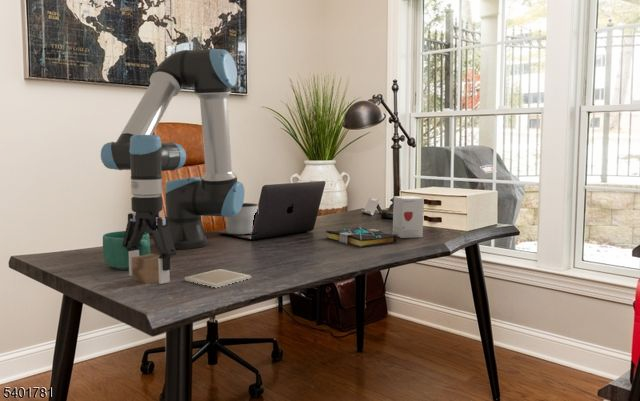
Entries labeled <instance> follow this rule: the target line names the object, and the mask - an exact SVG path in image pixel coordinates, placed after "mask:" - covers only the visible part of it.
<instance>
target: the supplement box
mask: <svg viewBox="0 0 640 401" xmlns="http://www.w3.org/2000/svg"><path fill="white" fill-rule="evenodd" d="M424 202H425V200H424V198H423V197H419V196H416V195H415V196H414V195H411V196H410V195H405V196H403V195H401V196H398V195H397V196H396V195H395V196H393V210H392V212H393V213H392V234H398V238H400V239H410V238H411V239H412V238H423V236H424V235H423V230H424V204H425V203H424Z"/></svg>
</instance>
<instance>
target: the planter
mask: <svg viewBox="0 0 640 401" xmlns="http://www.w3.org/2000/svg"><path fill="white" fill-rule="evenodd" d="M257 209H258V210H259V204H258V203H251V202H243V205H242V208H241V210H240V211H239V213H238V214H237V215H235V216H226V217H225V218H226V220H225V223H226V224H225V227H226V230H225V231H226V233H227V234H228V235H231V234H246V233H251V232H252V226H253V220H254V215H255V213H256V212H257Z"/></svg>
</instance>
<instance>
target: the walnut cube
mask: <svg viewBox="0 0 640 401" xmlns="http://www.w3.org/2000/svg"><path fill="white" fill-rule="evenodd" d="M159 256H160V254H154V253H150V254H147V255H142V256H137V257H132V276H131V278H132V281H134V280H135V282H138V281H139V283H142V282H143V283H142V284H145V283H148V284H151V282H152V283H155V282H159V265H158V257H159Z"/></svg>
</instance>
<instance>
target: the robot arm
mask: <svg viewBox="0 0 640 401" xmlns="http://www.w3.org/2000/svg"><path fill="white" fill-rule="evenodd" d="M237 82H238V69H237V66H236V62H235V60H234V58H233V56H232V54H231V53H230V52H229V51H228V50H226V49H221V48H208V49H205V48H204V49H203V48H202V49H182V50H179V51H176V52H174V53H172V54H171V55H169V56H167V57H166V58H165V59H164V60H162V62H160V63H159V64H158V65H157V66H156V68H155V69H154V71H153V72H152V73H151V75H150V78H149V86H148V87H147V89H146V91H145V92H144V95H142V97H141V99H140V101H139V103H138V104H137V106H136V108H135V110H134V111H133V113H132V115H131V116H130V118H129V120H128V122H127V123H126V125H125V126H124V128H123V130H122V132H121V134H120V135H119V136H118V138H117V139H116V141H111V142H107V143H104V144H103V145H102V148H101V150H100V160H101V163H102V164H103V166H104V167H105V168H107V169H110V170H116V171H117V170H118V171H123V170H124V171H129V170H130V182H131V183H130V189H131V190H130V191H131V195H132V197H131V199H130V200H131V204H130V205H131V211H132V212H133V213H132V212H131V213H127V222H126V223H127V224H126V228H125V230H124V231H125V236H124V240H123V244H122V245H123V247H126V249H127V251H128V260H129V269H128V276H129V277H132V257H137V256H139V250H135V249H139V247H138V245H139V243H140V241H141V239H142V237H143V235H144V233H145V232H146V233H148V234H149V237H151V238H152V240H153V243H154V245H155V247H156V249H157V251H158V255H160V256H159V257H158V265H159V281H158V284H159V285H163V284H166V283H170V281H171V277H170V276H171V273H170V270H171V257H173V256H176V254H177V251H176V250H187V249H196V248H202V247H204V246H207V244H208V243H207V242H208V240H207V239H208V238H207V235H206V233H205V228H204V226H203V224H202V216H203V217H205V216H206V217H209V216H210V217H222V218H226V216H235V215H237V214H238V213H239V211H240V210H241V208H242V205H243V203H244V202H245V187H244V184H243V182H241V181H238V175H237V174H236V173H235V172H233V168H232V165H233V164H232V153H231V151H232V150H231V138H230V135H231V134H230V125H229V124H230V123H229V110H228V107H229V106H228V97H229V96H230V95H231V93H232V88H234V87H235V86H236V84H237ZM186 88H190V89H191V88H193V90H194V91H193V92H194V95H195V96H196V97H198V98H199V104H200V117H201V119H200V120H201V131H202V141H203V155H204V166H205V168H204V169H205V170H204V171H205V173H204V174H203V175H202V176H201V177H200V176H195V177H185V178H178V179H170V180H168V181H166V183H165V189H164V190H165V191H164V195H165V216H163V217H161V216H160V212H161V211H163V208H164V207H163V197H162V196H161V195H162V194H163V176H162V175H163V174H162V172H166V171H167V172H168V171H171V172H174V171H176V170H179V169H181V168H182V167H184V165H185V164H186V160H187V153H186V150H185V148H184V147H183V146H182V145H181V144H179V143H175V142H162V140H161V137H160V135H159V134H154V132H155V131H156V128H157V127H158V124H159V123H160V122H161V119H162V117H163V116H164V114H165V112H166V110H167V109H168V107H169V105H170V103H171V101H172V99H173V97H176V96H178V95H179V93H180V92H181V90H183V89H186ZM128 241H129V242H128Z"/></svg>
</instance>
